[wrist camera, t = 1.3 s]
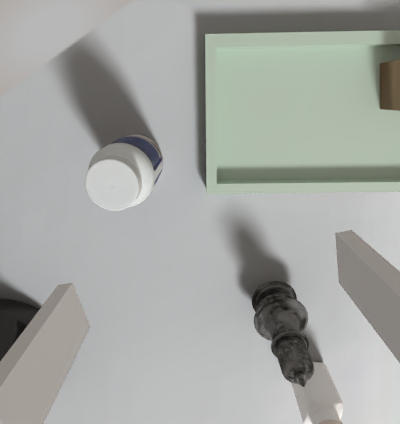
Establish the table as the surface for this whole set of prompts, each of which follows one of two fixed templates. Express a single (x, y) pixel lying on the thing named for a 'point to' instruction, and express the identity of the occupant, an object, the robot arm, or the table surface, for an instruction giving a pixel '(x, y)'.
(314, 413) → the salt shaker
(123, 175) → the pill bottle
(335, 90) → the tray
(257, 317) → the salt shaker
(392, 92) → the walnut block
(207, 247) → the table surface
